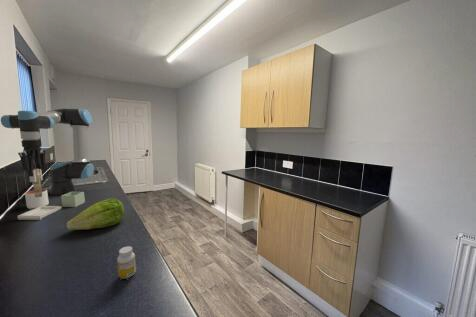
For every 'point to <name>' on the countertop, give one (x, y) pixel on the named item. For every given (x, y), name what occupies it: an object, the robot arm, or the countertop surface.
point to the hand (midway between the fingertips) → (36, 180)
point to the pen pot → (72, 199)
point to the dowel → (37, 184)
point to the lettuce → (98, 215)
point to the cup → (36, 199)
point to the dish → (39, 213)
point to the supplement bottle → (126, 262)
